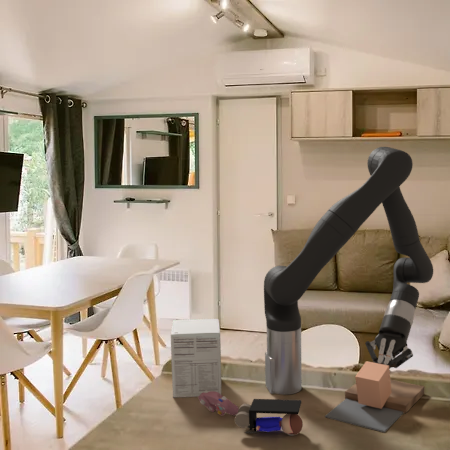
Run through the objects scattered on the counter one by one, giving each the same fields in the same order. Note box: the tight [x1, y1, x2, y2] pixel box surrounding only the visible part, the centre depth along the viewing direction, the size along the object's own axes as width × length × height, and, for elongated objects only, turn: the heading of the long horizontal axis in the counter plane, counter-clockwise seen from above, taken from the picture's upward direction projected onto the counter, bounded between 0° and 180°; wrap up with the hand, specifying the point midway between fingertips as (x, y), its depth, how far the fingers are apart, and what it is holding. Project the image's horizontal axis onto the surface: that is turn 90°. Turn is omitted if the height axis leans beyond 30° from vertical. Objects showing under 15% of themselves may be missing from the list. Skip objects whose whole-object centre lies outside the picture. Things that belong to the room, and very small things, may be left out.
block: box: [354, 361, 392, 409], centre depth 160 cm, size 7×6×8 cm
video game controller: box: [197, 390, 240, 417], centre depth 159 cm, size 10×5×7 cm
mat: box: [324, 398, 404, 433], centre depth 156 cm, size 12×15×1 cm
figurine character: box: [234, 398, 304, 436], centre depth 148 cm, size 7×8×15 cm
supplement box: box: [170, 318, 222, 398], centre depth 175 cm, size 13×13×18 cm
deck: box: [344, 378, 425, 414], centre depth 167 cm, size 14×16×2 cm
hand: (379, 379), depth 163 cm, fingers closed
